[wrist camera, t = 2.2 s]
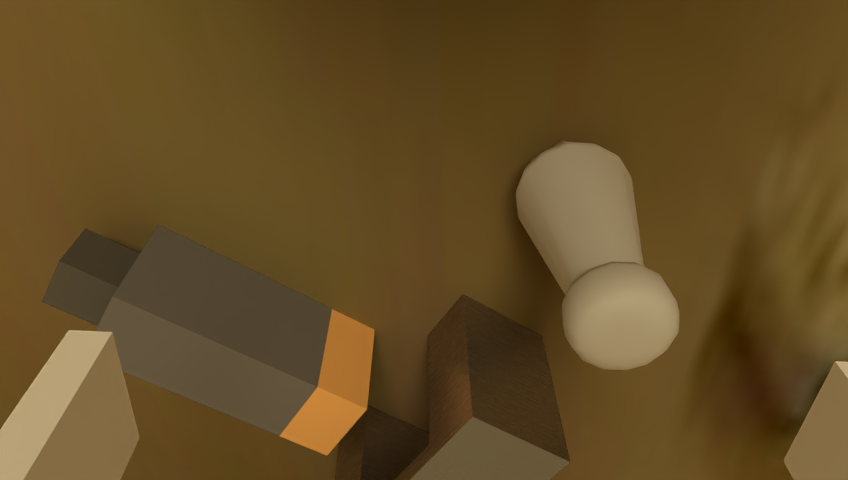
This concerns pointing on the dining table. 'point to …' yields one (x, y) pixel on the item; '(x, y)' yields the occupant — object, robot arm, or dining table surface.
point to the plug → (221, 334)
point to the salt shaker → (596, 255)
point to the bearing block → (469, 410)
